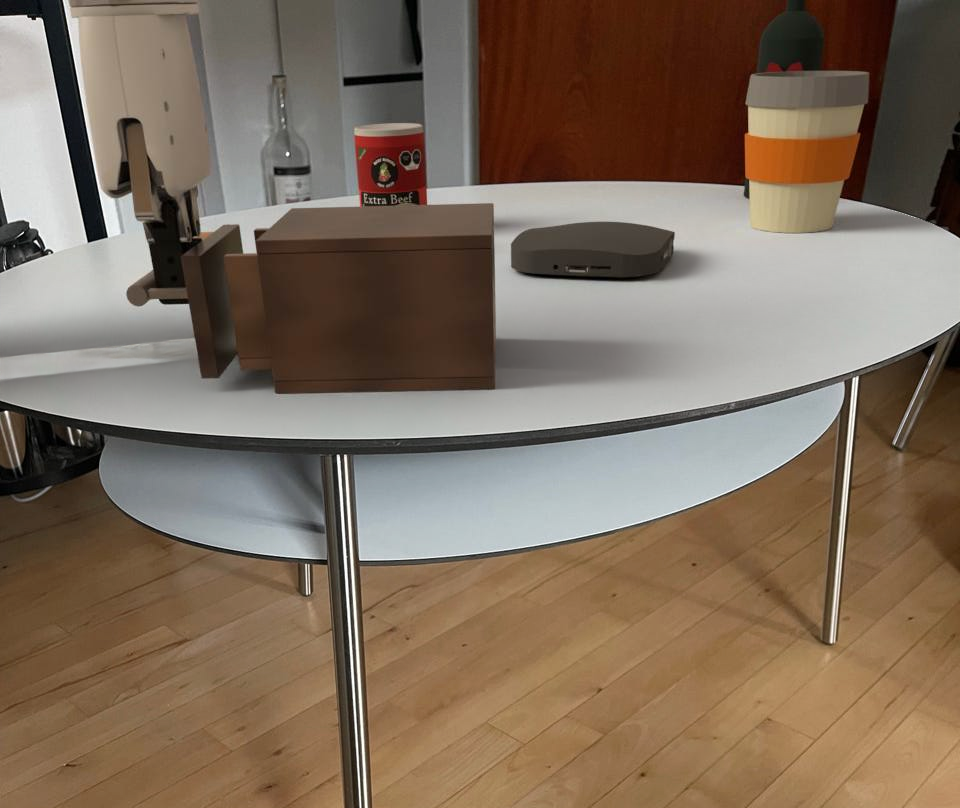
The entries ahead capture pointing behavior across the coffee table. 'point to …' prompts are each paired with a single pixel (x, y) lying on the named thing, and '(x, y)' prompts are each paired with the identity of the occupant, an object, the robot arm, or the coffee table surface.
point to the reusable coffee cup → (801, 146)
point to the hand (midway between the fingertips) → (185, 300)
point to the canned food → (391, 164)
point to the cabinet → (380, 298)
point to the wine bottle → (790, 45)
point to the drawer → (219, 302)
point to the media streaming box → (593, 250)
